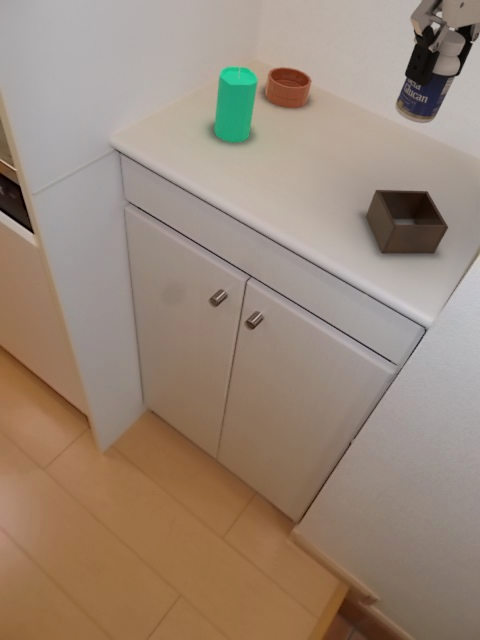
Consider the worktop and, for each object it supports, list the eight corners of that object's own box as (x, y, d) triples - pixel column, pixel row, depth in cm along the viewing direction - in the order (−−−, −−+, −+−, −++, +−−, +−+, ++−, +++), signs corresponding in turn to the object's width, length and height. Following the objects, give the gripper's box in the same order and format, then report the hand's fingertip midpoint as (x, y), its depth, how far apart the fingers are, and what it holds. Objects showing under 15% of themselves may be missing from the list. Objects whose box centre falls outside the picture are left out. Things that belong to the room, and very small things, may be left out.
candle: (223, 123, 91) (231, 52, 82) (254, 135, 90) (265, 64, 81) (207, 138, 88) (213, 66, 78) (239, 150, 86) (249, 79, 77)
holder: (413, 221, 80) (427, 190, 76) (431, 257, 75) (448, 227, 71) (363, 220, 78) (375, 189, 74) (379, 257, 73) (393, 226, 69)
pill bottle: (387, 111, 67) (419, 32, 60) (403, 97, 70) (436, 20, 63) (425, 129, 66) (462, 51, 58) (440, 114, 69) (477, 38, 62)
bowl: (301, 91, 103) (306, 68, 99) (309, 113, 98) (315, 89, 94) (261, 89, 101) (265, 66, 98) (268, 110, 96) (272, 87, 93)
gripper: (485, -96, 45) (408, 105, 59) (584, -102, 53) (496, 77, 67) (419, -120, 48) (362, 75, 62) (522, -122, 56) (450, 52, 70)
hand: (432, 74), depth 64 cm, fingers closed on pill bottle, 5 cm apart
